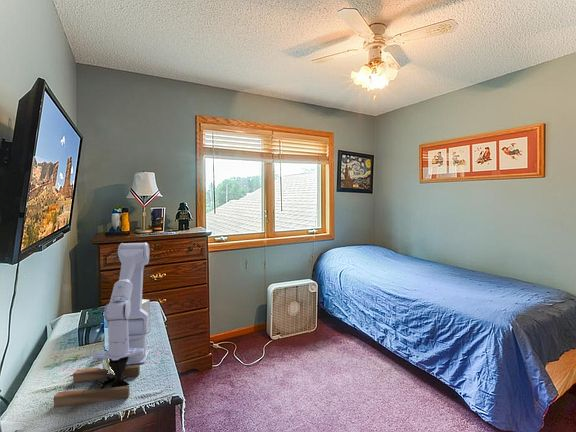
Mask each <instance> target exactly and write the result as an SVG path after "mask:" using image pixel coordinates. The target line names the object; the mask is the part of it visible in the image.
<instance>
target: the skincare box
mask: <svg viewBox="0 0 576 432" xmlns="http://www.w3.org/2000/svg"><path fill="white" fill-rule="evenodd" d="M142 309H143V310H144V311H146V312H147V313H148V314H149V320H150V321H151V302H150V299H146V298H145V299H144V298H142ZM137 318H141V317H137ZM128 319H136V318H128ZM151 328H152V327H151V325H150V329H149V332H150V331H151V330H152V329H151Z"/></svg>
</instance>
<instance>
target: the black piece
mask: <svg viewBox="0 0 576 432" xmlns="http://www.w3.org/2000/svg"><path fill="white" fill-rule="evenodd" d="M97 382H98V384H97V385H98V388H97V389H105V388H113V387H122V386H130V383H129V382H127V381H125V380H124V379H122V380H121V381H117V378H115V375H113V374H111V373H110V374H108V375H106V376H104V377H102V378H99V380H98V381H97Z"/></svg>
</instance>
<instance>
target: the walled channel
mask: <svg viewBox="0 0 576 432" xmlns="http://www.w3.org/2000/svg"><path fill="white" fill-rule="evenodd" d="M140 370H141V369H140V364H133V365H126V366H125V370H124V374H123V378H128V377H129V378H131V377H138V376H140V374H141V373H140ZM107 373H108V370H106V369H105V368H101V367H94V368H86V369H85V368H84V369H76V370H75V371H74V372H73V373H72V383H73V384H76V383H84V382H93V381H99V378H102V377H104V376H106V375H108V374H107ZM115 378H116V376H115ZM116 379H117V378H116ZM130 392H131V391H130V385H128V386H122V387H113V388H105V389H98V388H97V389H89V390H86V388H84V389H76V390H66V391H59V392H57V393H56V394H55V395H54V396H53V407H54V408H58V407H59V408H60V407H65V406H75V405H81V404H82V405H83V404H91V403H97V402H109V401H115V400H123V399H124V400H125V399H129V397H130Z"/></svg>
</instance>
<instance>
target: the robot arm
mask: <svg viewBox="0 0 576 432" xmlns="http://www.w3.org/2000/svg"><path fill="white" fill-rule="evenodd" d="M150 251H151V250H150V245H149V243H148V242H129V243H124V242H121V243H120V244H119V245H118V248H117V256H118V258H119V262H120V263H121V266H120V270H119V271H120V272H119V278H118V280H117V281H116V282H114V284H113V287H112V293H111V296H110V300H109V303H107V304H106V305H105V307H104V311H103V318H104V321H105V327H106V328H107V335H108V337H107V340H108V350H104V351H100V352H99V351H97V352H95V353H94V354H93V355H92V361H93V362H94V363H95V362H98V361H103V360H109V362H108V366H109V368H111V369H112V370H113V371H114V373H115V376H116V379H117V381H121V380H122V379H123V378H124V377H123V374H124V370H125V366H130V365H139V364H144V363H145V362H146V361H147V357H148V356H149V354H150V351H151V350H150V349H149V348H148V334H149V332H150V331H149V329H150V326H151V319H150V320H149V314H148V313H147V312H146V311H144V310H143V309H142V299H143V289H144V288H143V287H144V286H143V283H144V268H145V266H147V265H148V264H149V261H150ZM137 317H141V318H137ZM128 318H136V319H128ZM126 363H127V365H126ZM123 380H124V379H123Z"/></svg>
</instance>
